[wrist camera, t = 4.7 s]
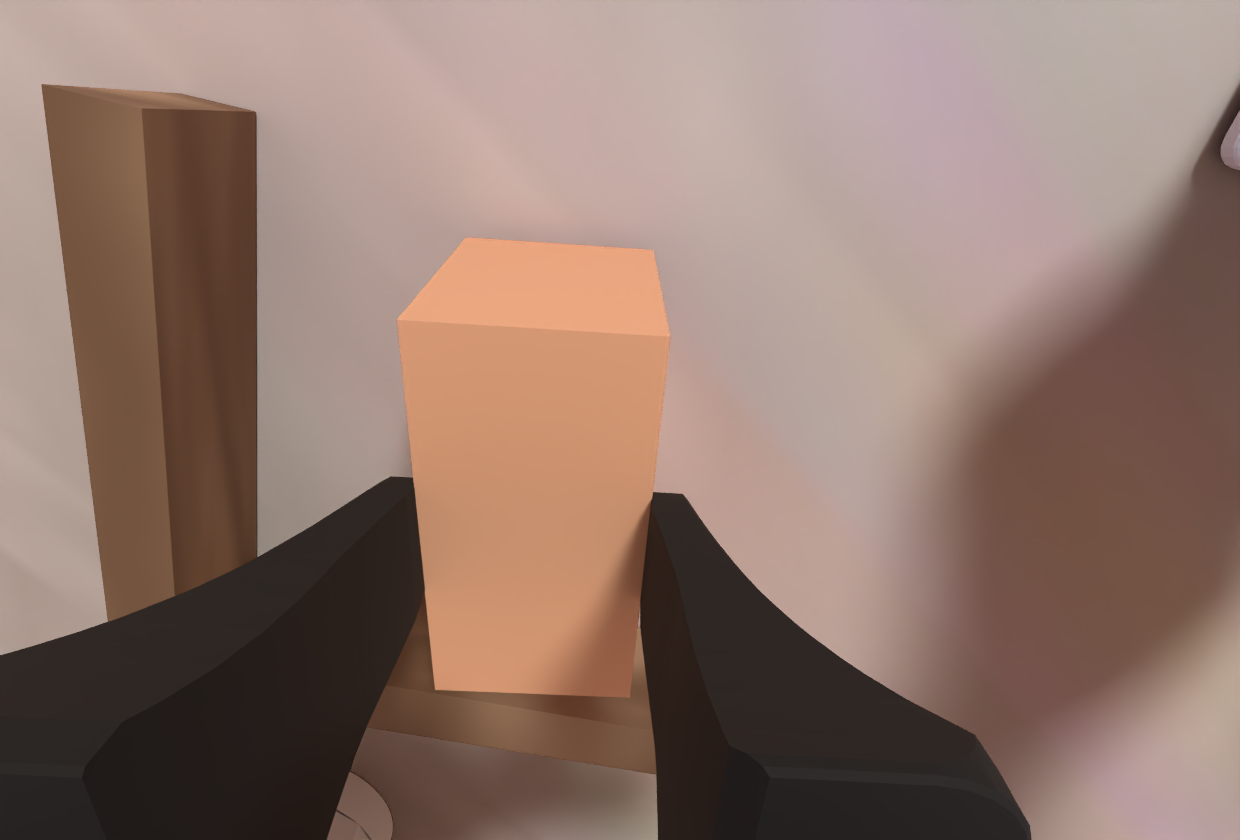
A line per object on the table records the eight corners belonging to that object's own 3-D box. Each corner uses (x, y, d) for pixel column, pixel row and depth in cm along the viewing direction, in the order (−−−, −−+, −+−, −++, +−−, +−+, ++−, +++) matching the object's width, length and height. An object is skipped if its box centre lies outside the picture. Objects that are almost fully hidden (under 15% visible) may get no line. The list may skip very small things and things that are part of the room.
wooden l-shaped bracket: (828, 250, 15) (885, 286, 11) (677, 674, 20) (687, 779, 17) (180, 94, 13) (41, 84, 10) (202, 589, 19) (116, 686, 15)
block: (626, 541, 18) (629, 697, 13) (479, 534, 18) (434, 690, 13) (653, 249, 14) (670, 336, 10) (465, 237, 14) (397, 319, 9)
